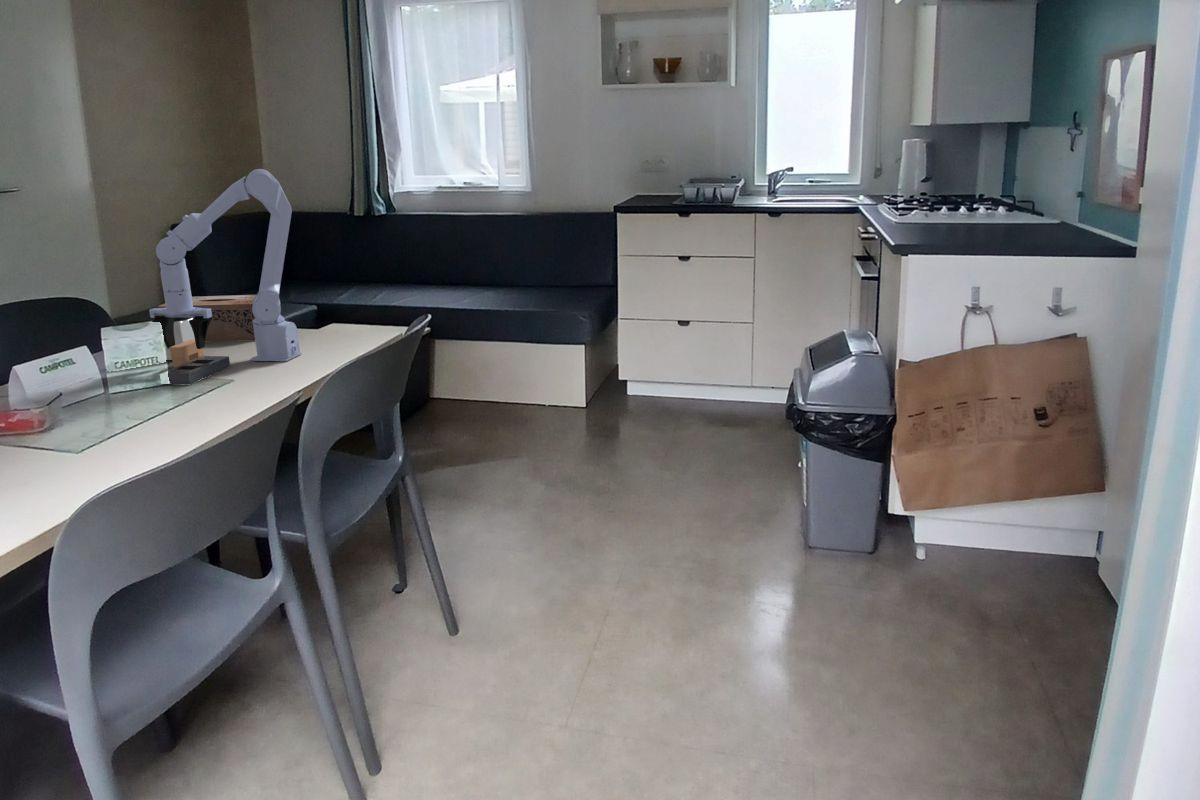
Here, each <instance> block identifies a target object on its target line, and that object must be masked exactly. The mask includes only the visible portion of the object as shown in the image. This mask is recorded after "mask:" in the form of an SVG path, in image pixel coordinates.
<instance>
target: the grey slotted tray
mask: <svg viewBox="0 0 1200 800" xmlns="http://www.w3.org/2000/svg"><path fill="white" fill-rule="evenodd" d="M229 368H231V363H230V356H227V355H225V356H224V355H223V356H222V355H221V356H220V355H203V356H200V357H198V358H195V359H193V360H191V361H188V362H186V363H183V364H181V365H178V366H176V367H174V366H173V367H172V368H169V369H167V370H168V377H169V381H170V383H171V384H191V383H194V382H196V381H198V380H200V379H202V378H205V377H207V378H208V376H209V377H211V376H213V375H215V373H216V374H217V372H218V373H220V372H221V371H224V370H226V369H229ZM210 375H211V376H210ZM205 379H206V378H205ZM202 380H203V379H202ZM200 381H201V380H200ZM198 382H199V381H198ZM196 383H197V382H196ZM194 384H195V383H194ZM191 385H192V384H191Z"/></svg>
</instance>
